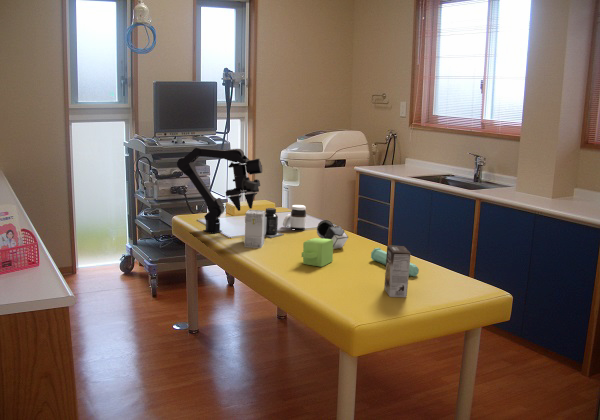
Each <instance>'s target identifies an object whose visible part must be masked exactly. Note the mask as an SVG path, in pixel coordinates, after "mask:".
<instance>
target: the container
mask: <svg viewBox="0 0 600 420" xmlns="http://www.w3.org/2000/svg"><path fill="white" fill-rule="evenodd" d="M386 257H387V251H385V250H383V249H381V248H380V247H375V248H373V250H372V251H371V253H370V258H371V260H372V261H374V262H375V261H376V262H378V263H380V264H381V265H385V266H386ZM419 272H420V271H419V267H418V266H417V264H415V263H412V262H410V267H409V277H411V276H413V277H417V276H418V274H419Z"/></svg>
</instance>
